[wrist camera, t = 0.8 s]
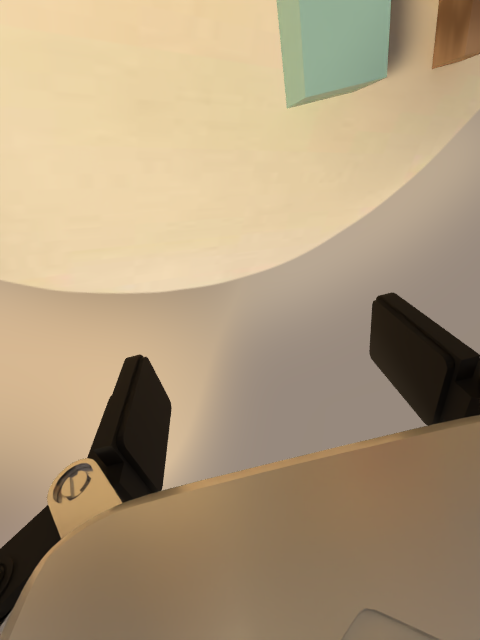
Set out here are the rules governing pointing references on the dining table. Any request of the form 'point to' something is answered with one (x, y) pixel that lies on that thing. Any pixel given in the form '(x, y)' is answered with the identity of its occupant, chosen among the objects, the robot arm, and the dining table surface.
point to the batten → (456, 31)
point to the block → (332, 46)
